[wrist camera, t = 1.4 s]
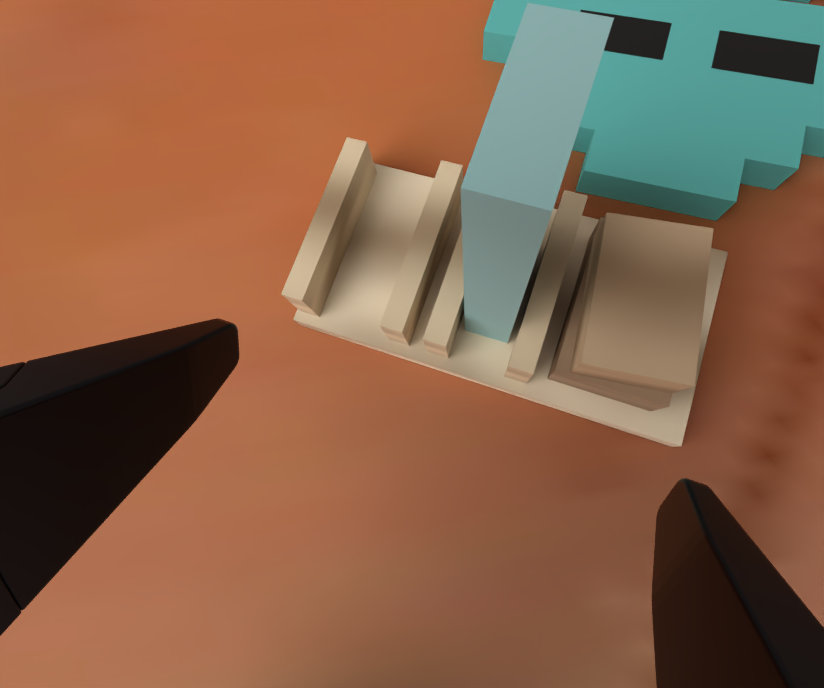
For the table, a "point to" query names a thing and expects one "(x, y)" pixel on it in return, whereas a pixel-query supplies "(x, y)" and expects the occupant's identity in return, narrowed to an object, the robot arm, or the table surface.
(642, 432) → the birch rack
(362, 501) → the table surface
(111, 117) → the table surface
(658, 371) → the upper oak offcut
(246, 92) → the table surface
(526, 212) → the teal panel
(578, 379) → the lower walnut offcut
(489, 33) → the alien figure
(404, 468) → the table surface
